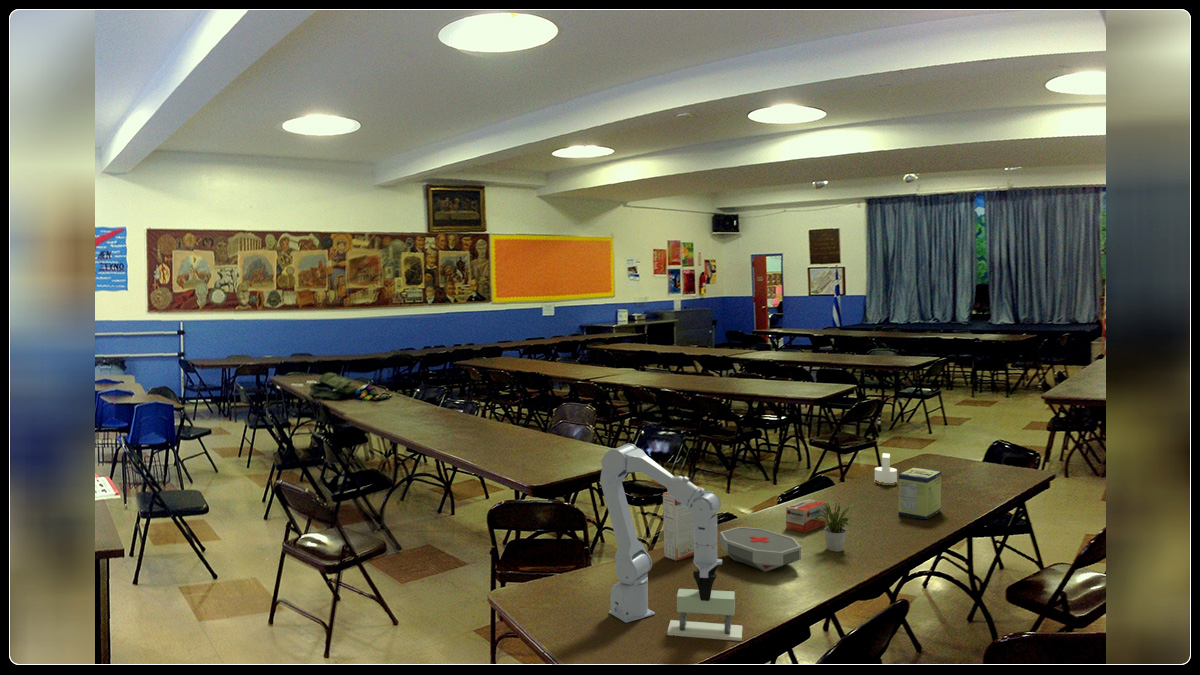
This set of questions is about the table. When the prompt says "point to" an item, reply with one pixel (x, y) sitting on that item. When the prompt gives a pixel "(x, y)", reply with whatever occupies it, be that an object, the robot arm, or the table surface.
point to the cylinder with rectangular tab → (886, 471)
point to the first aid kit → (760, 547)
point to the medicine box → (805, 515)
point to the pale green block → (706, 602)
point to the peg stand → (705, 629)
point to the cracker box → (677, 529)
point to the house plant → (835, 528)
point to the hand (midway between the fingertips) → (705, 595)
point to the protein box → (919, 493)
